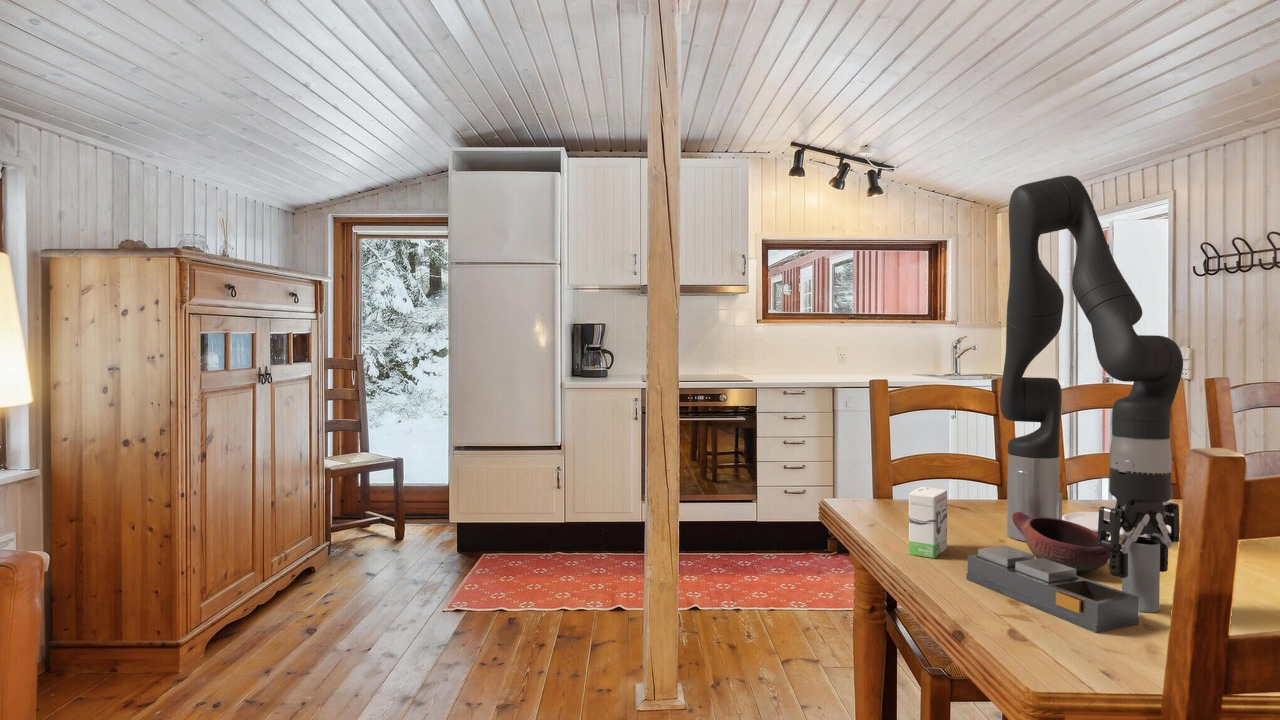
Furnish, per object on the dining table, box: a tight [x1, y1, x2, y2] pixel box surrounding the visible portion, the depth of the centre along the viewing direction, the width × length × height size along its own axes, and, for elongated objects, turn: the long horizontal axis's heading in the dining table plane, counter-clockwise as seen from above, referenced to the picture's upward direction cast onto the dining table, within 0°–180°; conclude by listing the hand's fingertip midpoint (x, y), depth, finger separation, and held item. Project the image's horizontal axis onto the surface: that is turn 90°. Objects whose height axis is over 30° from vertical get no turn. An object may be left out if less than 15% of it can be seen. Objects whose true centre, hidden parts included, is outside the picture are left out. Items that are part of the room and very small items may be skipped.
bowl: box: [1012, 512, 1109, 573], centre depth 120 cm, size 16×13×8 cm
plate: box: [1062, 511, 1171, 538], centre depth 146 cm, size 21×21×1 cm
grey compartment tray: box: [965, 544, 1140, 634], centre depth 104 cm, size 23×9×5 cm, turn 19°
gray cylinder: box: [1121, 536, 1161, 613], centre depth 101 cm, size 4×4×10 cm
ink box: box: [908, 486, 948, 559], centre depth 129 cm, size 9×5×12 cm, turn 140°
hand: (1138, 573), depth 101 cm, fingers open, 8 cm apart
